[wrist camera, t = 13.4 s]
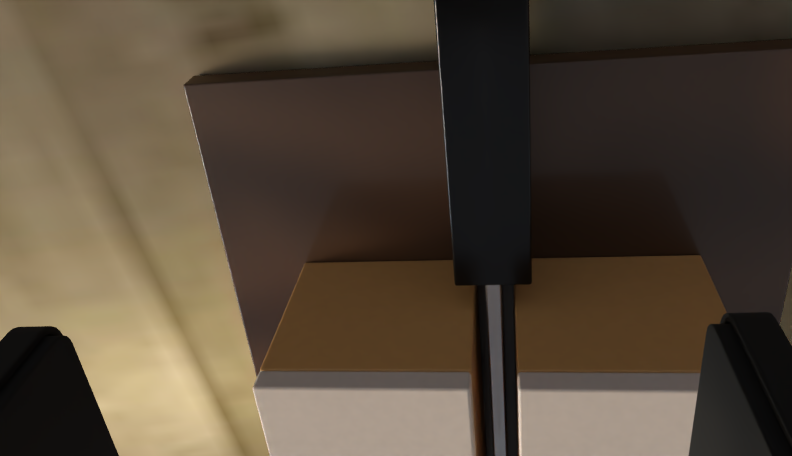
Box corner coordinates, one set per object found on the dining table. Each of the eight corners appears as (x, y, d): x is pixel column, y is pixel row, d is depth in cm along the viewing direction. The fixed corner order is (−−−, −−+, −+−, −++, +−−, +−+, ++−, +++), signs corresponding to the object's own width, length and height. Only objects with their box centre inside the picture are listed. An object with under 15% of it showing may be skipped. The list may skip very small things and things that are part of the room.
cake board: (193, 75, 25) (182, 85, 24) (823, 36, 22) (837, 45, 21) (298, 509, 35) (294, 526, 35) (729, 524, 32) (736, 544, 32)
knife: (438, -68, 21) (430, -49, 18) (524, -76, 20) (528, -57, 17) (477, 504, 32) (475, 569, 30) (531, 506, 32) (535, 572, 29)
